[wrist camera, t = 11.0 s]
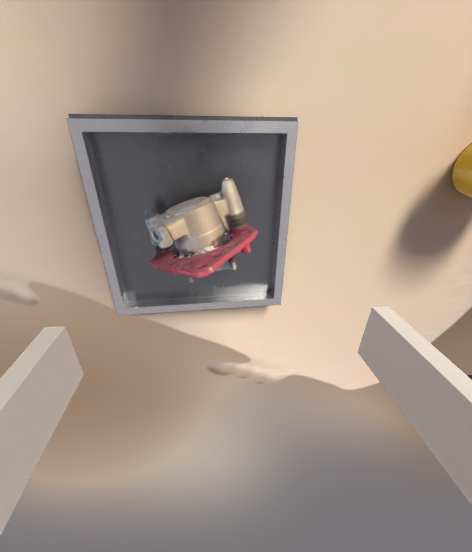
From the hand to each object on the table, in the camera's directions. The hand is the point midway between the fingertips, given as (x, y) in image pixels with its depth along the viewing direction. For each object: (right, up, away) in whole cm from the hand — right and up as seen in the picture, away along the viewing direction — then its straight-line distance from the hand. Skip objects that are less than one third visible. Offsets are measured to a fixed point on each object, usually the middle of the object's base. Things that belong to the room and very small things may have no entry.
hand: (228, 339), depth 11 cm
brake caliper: (-4, +8, +19) cm, 21 cm away
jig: (-4, +9, +19) cm, 22 cm away
